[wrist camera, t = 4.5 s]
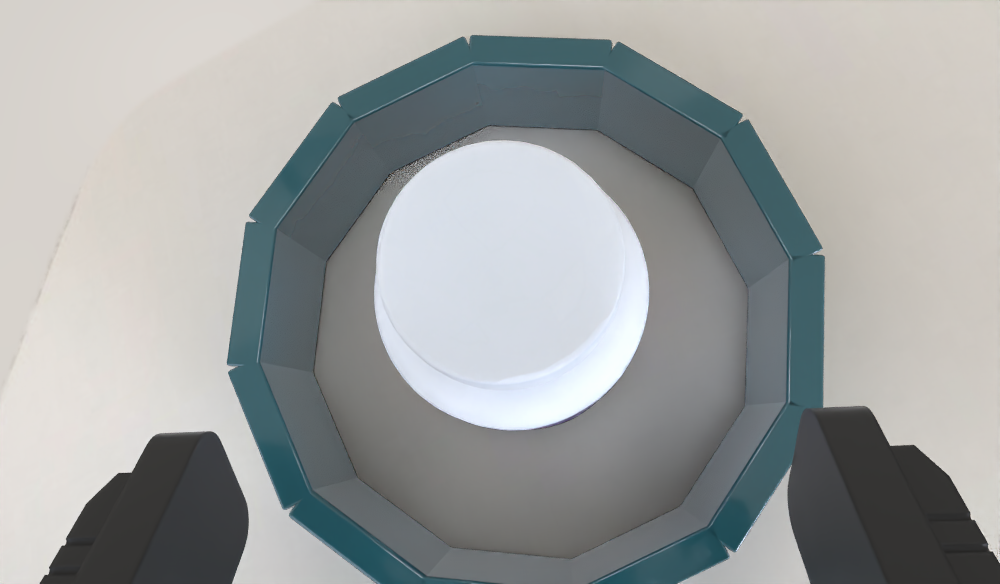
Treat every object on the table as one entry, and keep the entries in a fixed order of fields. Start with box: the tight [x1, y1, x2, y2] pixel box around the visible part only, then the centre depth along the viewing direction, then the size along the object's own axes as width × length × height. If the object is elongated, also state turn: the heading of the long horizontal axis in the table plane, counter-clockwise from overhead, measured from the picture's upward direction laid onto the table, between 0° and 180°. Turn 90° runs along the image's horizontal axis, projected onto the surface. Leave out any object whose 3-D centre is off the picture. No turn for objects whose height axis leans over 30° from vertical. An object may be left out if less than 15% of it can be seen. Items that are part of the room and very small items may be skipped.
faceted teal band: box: [227, 35, 825, 584], centre depth 20 cm, size 14×14×4 cm
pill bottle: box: [374, 140, 649, 431], centre depth 17 cm, size 5×5×10 cm
